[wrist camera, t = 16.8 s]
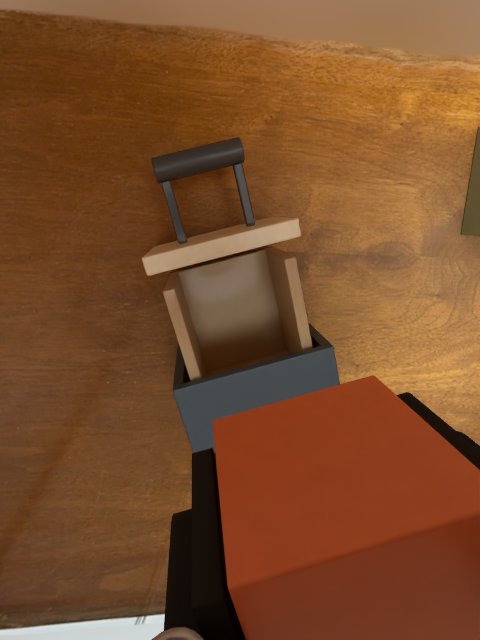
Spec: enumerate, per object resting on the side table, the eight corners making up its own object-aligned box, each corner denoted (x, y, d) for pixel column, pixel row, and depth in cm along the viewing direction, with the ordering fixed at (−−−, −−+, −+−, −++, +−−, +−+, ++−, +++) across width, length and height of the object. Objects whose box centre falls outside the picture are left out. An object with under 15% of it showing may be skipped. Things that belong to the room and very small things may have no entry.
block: (211, 419, 9) (226, 589, 5) (373, 373, 9) (517, 501, 5) (249, 545, 11) (286, 762, 6) (391, 503, 11) (517, 685, 7)
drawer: (130, 172, 28) (109, 158, 21) (257, 141, 28) (280, 117, 21) (194, 378, 34) (195, 424, 26) (299, 349, 34) (328, 387, 27)
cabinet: (177, 342, 33) (172, 390, 24) (296, 310, 34) (333, 346, 25) (214, 459, 37) (221, 537, 28) (319, 429, 38) (359, 496, 29)
